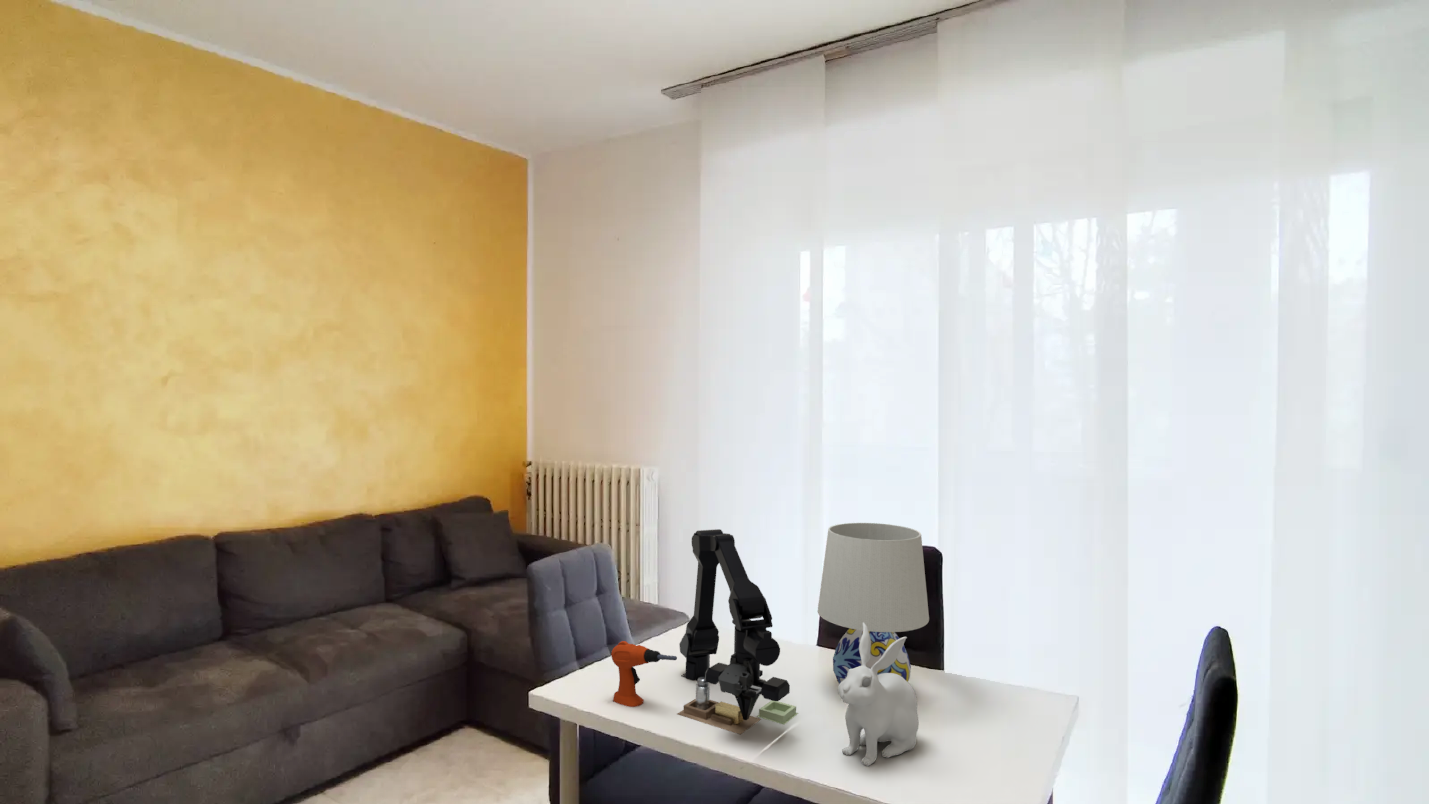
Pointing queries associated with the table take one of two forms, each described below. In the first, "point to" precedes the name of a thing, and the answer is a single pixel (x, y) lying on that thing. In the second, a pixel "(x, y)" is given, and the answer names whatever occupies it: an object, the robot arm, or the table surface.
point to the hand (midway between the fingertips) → (745, 719)
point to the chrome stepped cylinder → (702, 694)
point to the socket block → (716, 717)
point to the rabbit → (879, 704)
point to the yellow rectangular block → (729, 712)
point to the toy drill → (632, 670)
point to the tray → (777, 712)
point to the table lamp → (873, 591)
